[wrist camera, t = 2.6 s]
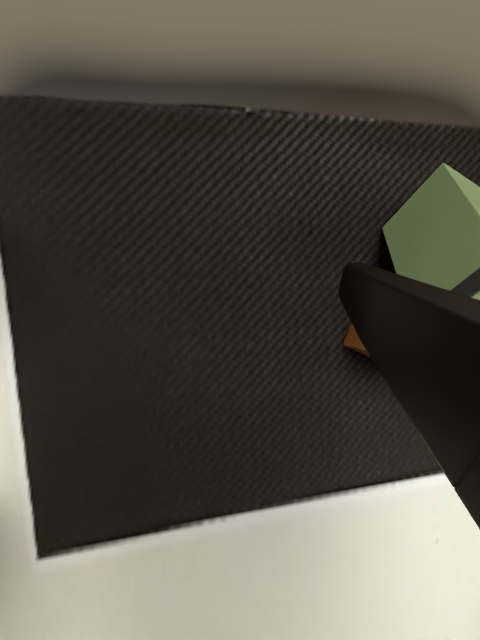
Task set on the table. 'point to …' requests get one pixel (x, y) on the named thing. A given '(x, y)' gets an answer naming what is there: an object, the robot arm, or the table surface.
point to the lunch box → (439, 234)
